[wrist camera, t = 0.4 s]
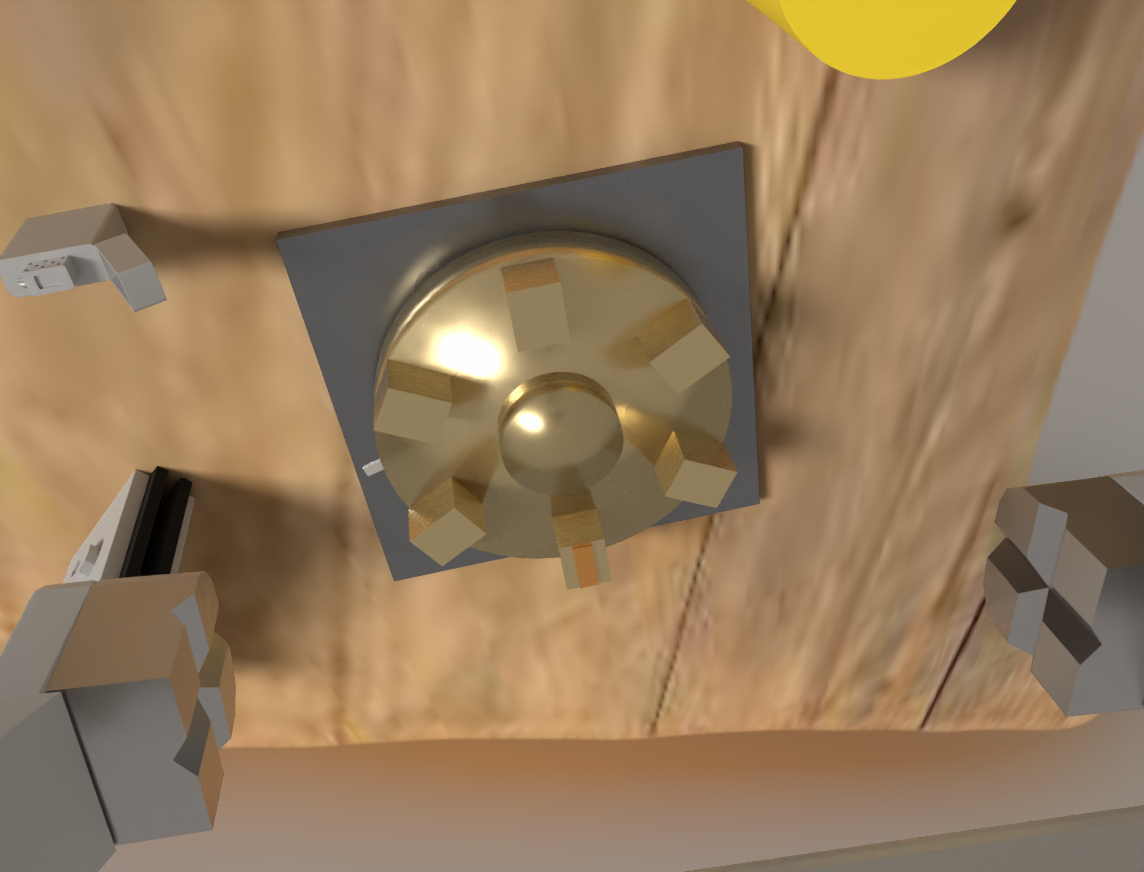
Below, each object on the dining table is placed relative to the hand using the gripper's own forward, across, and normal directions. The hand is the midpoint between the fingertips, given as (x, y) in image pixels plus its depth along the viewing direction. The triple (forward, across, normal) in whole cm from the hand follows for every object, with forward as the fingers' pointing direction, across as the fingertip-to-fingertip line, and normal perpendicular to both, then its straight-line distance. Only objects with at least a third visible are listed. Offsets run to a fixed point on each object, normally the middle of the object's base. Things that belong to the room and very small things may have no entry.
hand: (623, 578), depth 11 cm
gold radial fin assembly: (+41, -4, +17) cm, 44 cm away
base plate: (+41, -4, +17) cm, 44 cm away
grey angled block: (+40, +16, +7) cm, 43 cm away
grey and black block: (+42, +20, +27) cm, 54 cm away
